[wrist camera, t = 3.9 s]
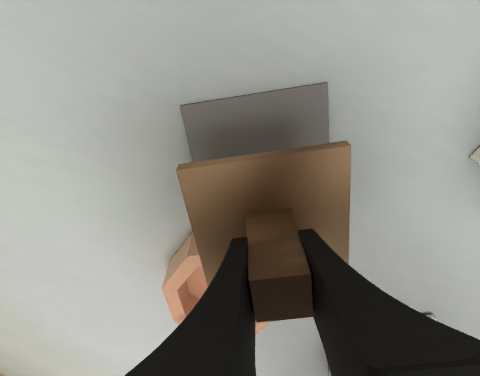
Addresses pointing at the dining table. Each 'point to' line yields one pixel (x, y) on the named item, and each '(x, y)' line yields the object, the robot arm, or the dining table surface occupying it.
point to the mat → (257, 122)
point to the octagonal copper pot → (187, 282)
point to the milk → (476, 156)
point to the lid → (271, 217)
